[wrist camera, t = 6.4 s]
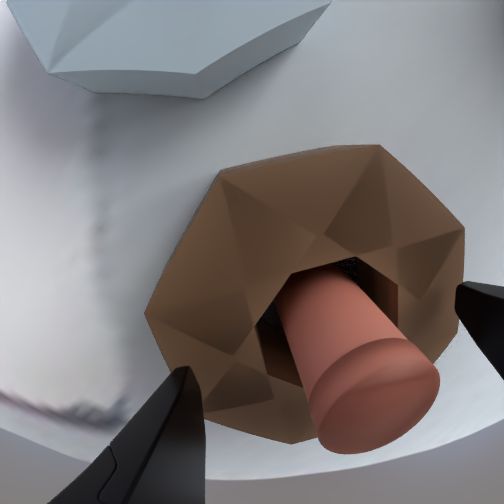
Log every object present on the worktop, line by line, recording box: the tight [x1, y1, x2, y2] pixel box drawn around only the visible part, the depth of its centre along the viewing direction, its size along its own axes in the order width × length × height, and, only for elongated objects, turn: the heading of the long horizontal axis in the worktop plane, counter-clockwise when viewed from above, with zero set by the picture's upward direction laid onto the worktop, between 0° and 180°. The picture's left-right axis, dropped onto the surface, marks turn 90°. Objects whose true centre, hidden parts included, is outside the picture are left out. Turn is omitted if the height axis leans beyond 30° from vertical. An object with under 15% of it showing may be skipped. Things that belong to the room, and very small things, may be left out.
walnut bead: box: [144, 145, 465, 444], centre depth 10 cm, size 10×10×4 cm
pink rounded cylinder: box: [273, 262, 440, 454], centre depth 9 cm, size 3×3×7 cm
